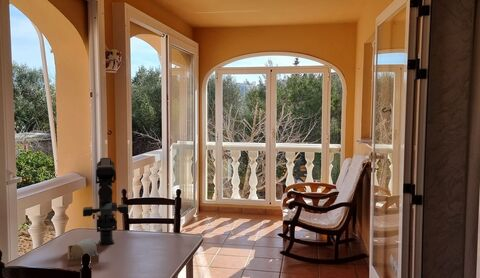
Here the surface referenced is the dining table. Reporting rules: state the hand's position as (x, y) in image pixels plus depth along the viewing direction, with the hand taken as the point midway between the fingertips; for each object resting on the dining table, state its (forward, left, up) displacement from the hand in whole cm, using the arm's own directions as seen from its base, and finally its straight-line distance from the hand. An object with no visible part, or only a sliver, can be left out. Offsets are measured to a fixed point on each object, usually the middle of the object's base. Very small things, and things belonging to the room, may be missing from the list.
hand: (106, 229), depth 171 cm
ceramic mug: (+4, -8, -11) cm, 14 cm away
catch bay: (+2, -10, -11) cm, 15 cm away
